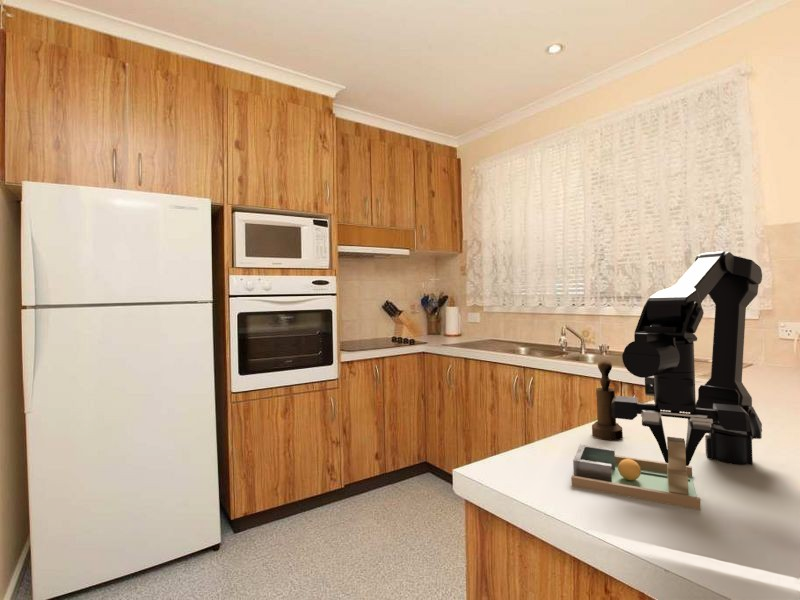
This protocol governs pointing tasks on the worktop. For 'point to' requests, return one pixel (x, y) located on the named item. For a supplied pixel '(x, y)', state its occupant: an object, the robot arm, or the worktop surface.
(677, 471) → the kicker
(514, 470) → the worktop surface
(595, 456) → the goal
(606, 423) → the pepper mill
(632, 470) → the ball
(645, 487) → the pitch
